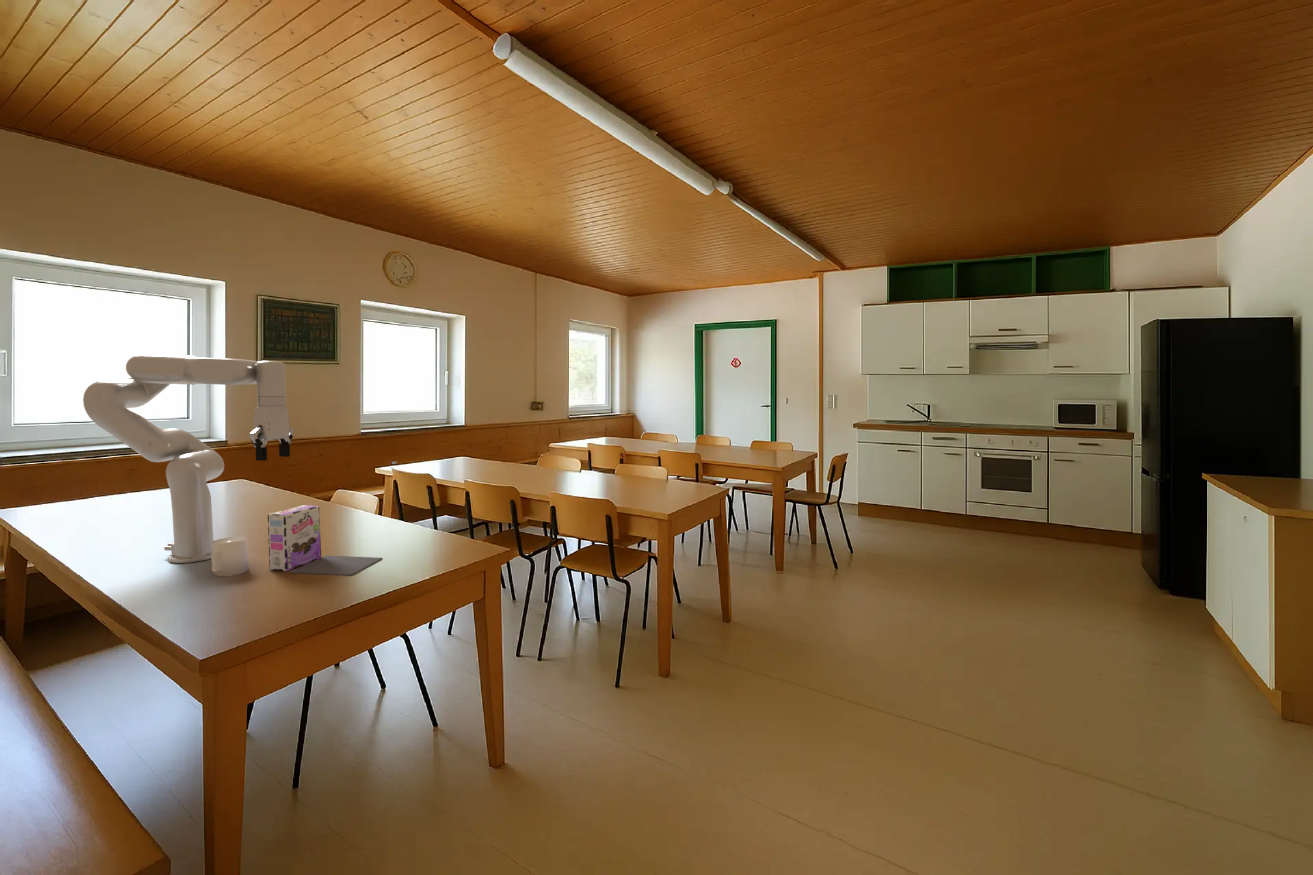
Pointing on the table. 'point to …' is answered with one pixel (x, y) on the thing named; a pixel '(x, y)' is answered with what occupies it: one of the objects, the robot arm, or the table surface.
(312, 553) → the candy box
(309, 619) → the table surface
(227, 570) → the mug
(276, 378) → the robot arm
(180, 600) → the table surface
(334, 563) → the mat
